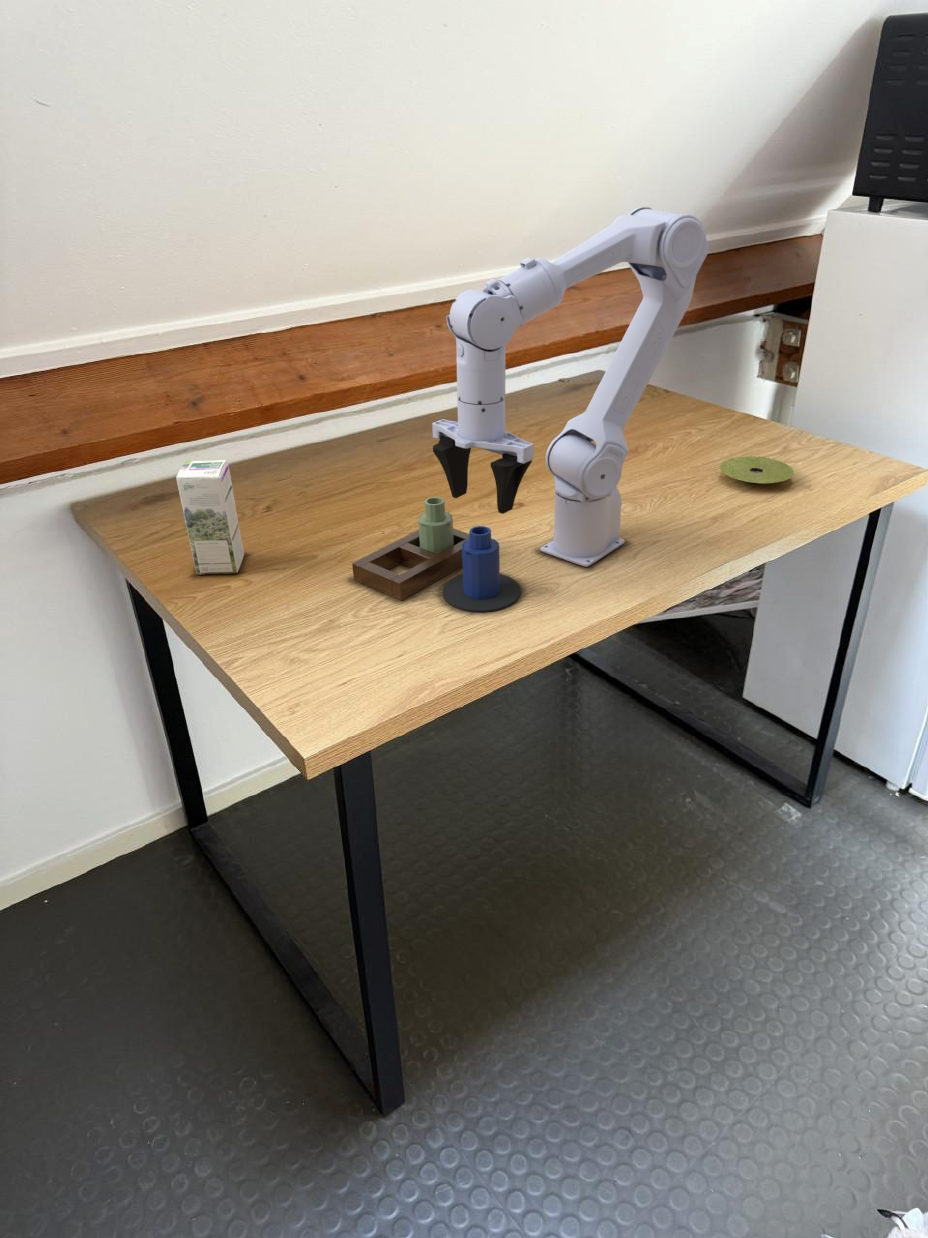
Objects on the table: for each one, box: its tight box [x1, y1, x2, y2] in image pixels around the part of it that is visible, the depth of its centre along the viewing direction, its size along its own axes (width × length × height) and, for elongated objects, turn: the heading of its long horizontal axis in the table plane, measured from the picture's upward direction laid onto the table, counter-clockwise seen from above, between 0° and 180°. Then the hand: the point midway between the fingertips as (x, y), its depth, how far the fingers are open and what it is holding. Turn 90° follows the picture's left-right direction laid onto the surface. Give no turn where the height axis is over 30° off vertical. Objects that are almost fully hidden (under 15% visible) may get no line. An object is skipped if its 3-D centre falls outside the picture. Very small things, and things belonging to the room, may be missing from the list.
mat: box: [719, 455, 795, 484], centre depth 144 cm, size 11×11×2 cm
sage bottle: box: [417, 496, 454, 554], centre depth 123 cm, size 5×5×8 cm
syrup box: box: [175, 459, 245, 576], centre depth 121 cm, size 6×6×14 cm
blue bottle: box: [462, 525, 501, 599], centre depth 114 cm, size 5×5×8 cm
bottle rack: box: [351, 527, 470, 601], centre depth 122 cm, size 9×16×3 cm, turn 139°
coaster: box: [442, 573, 522, 613], centre depth 116 cm, size 10×10×1 cm
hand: (482, 502), depth 115 cm, fingers open, 7 cm apart
